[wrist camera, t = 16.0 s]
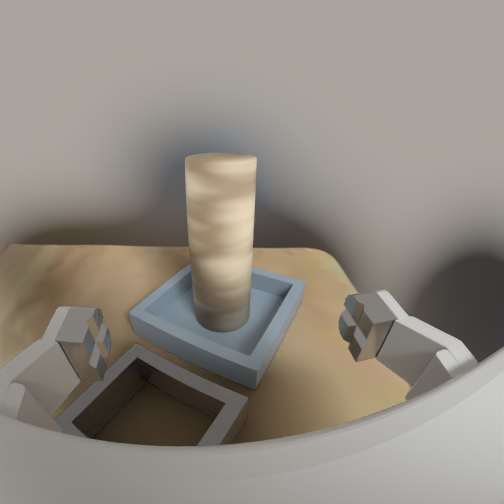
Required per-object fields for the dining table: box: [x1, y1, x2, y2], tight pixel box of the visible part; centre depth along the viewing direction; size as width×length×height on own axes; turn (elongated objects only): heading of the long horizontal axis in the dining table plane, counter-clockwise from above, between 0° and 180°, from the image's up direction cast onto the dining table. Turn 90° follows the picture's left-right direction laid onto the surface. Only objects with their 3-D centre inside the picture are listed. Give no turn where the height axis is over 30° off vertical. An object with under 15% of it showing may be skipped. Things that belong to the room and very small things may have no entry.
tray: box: [128, 263, 306, 390], centre depth 25 cm, size 12×12×2 cm
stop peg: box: [185, 153, 257, 333], centre depth 22 cm, size 5×5×14 cm
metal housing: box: [55, 343, 248, 446], centre depth 13 cm, size 9×9×3 cm
